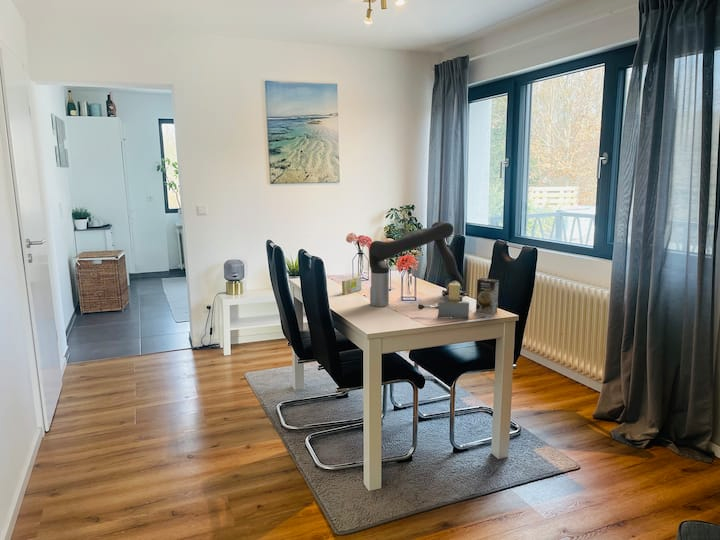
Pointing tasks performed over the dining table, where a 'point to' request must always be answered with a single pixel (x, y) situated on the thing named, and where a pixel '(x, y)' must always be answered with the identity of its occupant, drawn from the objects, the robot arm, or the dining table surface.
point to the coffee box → (487, 295)
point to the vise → (450, 309)
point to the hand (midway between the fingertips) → (454, 296)
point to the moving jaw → (459, 298)
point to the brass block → (454, 291)
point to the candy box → (351, 285)
